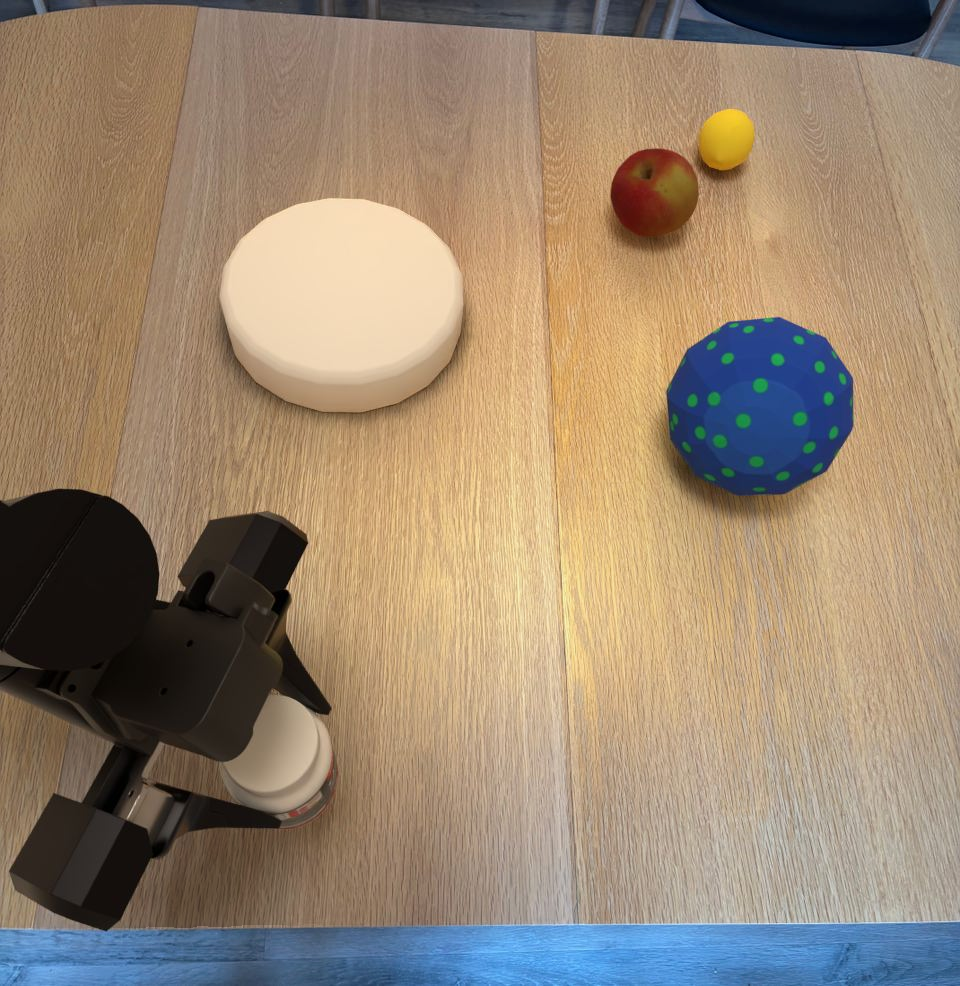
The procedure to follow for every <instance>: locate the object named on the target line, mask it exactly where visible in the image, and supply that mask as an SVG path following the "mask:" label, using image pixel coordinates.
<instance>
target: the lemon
mask: <svg viewBox="0 0 960 986" xmlns="http://www.w3.org/2000/svg"><path fill="white" fill-rule="evenodd" d="M755 139H756V134H755V124H754V123H753V122H752V120H751V119H750V117H749V115H747V114H746V113H745V112H743V111H741V110H739V109H734V108H726V109H723V110H719V111H717V112H715V113H713V114H712V115H711V116H710V117H709V118H707V120H705V121H704V123H703V125H702V127H701V129H700V132H699V133H698V150H699V153H700V156H701V159H702V161H703V162H704V163H705V164H706V165H707V166H708V167H709V168H712V169H716V170H718V171H728V170H732V169H733V168H735V167H737V166H739V165H741V164H743V163H745V161H746V159H748V156H749V155H750V153H752V150H753V147H754V142H755Z"/></svg>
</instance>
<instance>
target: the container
mask: <svg viewBox="0 0 960 986" xmlns="http://www.w3.org/2000/svg"><path fill="white" fill-rule="evenodd" d="M463 278H464V277H463V273H462V272H461V269H460V268H459V265H458V263H457V261H456V258H455V256H454V254H453V252H452V250H451V248H450V247H449V246H448V245H447V244H446V243H445V242H444V241H443V240H442V239H441V238H440V237H439V236H438V235H437V234H436V233H435V232H434V231H433V229H432V228H431V227H430V226H429V225H428V224H427V223H424V222H423V221H421V220H419V219H417V218H415V217H414V216H412V215H410V214H409V213H406V212H404V211H403V210H401V209H399V208H397V207H394V206H390V205H387V204H383V203H380V202H375V201H372V200H368V199H364V198H340V197H339V198H338V197H337V198H336V197H335V198H334V197H327V198H323V199H317V200H312V201H306V202H301V203H296V204H294V205H292V206H289V207H287V208H285V209H282V210H281V211H277V212H276V213H274V214H272V215H270V216H268V217H265V218H264V219H263V220H261V221H260V222H259V223H258V224H256V226H254V227H252V229H251V230H249V231H248V232H247V233H246V234H245V235H244V236H243V237H242V238H240V239H239V240H238V241H237V244H236V245H235V247H234V249H233V250H232V252H231V254H230V256H229V257H228V259H227V260H226V263H225V264H224V265H223V268H222V273H221V282H220V290H219V295H218V299H219V302H220V306H221V310H222V314H223V318H224V321H225V325H226V328H227V333H228V335H229V339H230V343H231V346H232V349H233V352H234V356H235V358H236V359H237V360H238V361H239V363H240V364H241V366H243V368H244V370H245V371H246V372H247V373H248V374H249V376H251V378H252V380H254V382H255V383H257V385H259V386H261V387H263V388H264V389H266V390H267V391H269V392H270V393H272V394H274V395H275V396H276V397H278V398H280V399H281V400H283V401H284V402H287V403H290V404H293V405H297V406H300V407H304V408H308V409H311V410H315V411H317V412H321V413H365V412H370V411H373V410H378V409H381V408H385V407H389V406H392V405H397V404H399V403H401V402H403V401H404V400H406V399H408V398H410V397H411V396H413V395H415V394H416V393H419V392H420V391H421V390H423V389H425V388H427V387H429V386H430V385H431V383H433V381H434V380H435V379H436V378H437V377H438V376H439V375H440V374H441V373H442V371H443V370H444V369H445V368H446V367H447V366H448V364H449V363H450V362H451V360H452V357H453V355H454V352H455V350H456V347H457V345H458V342H459V339H460V336H461V334H462V333H461V331H462V323H463V314H464V279H463Z"/></svg>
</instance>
